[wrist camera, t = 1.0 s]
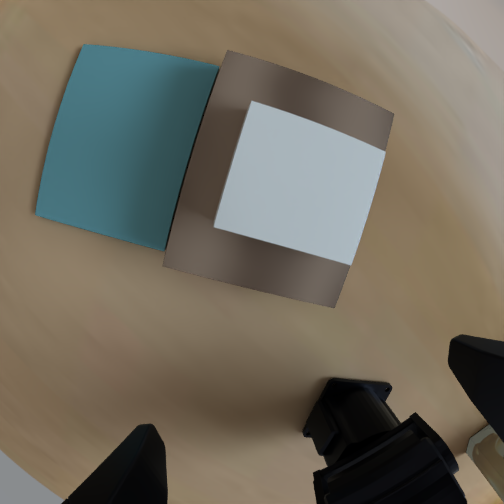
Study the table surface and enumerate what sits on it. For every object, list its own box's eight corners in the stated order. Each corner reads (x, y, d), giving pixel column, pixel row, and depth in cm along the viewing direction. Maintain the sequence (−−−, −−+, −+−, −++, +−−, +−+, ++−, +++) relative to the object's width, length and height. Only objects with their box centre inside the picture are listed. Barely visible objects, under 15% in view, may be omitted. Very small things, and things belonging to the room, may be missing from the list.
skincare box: (499, 414, 30) (546, 460, 18) (494, 431, 31) (536, 475, 19) (467, 439, 30) (512, 491, 18) (463, 454, 31) (504, 504, 19)
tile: (368, 153, 16) (385, 151, 14) (337, 255, 17) (351, 265, 16) (247, 109, 15) (251, 100, 13) (213, 221, 16) (213, 227, 14)
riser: (368, 121, 19) (394, 113, 16) (316, 288, 22) (334, 308, 18) (225, 70, 18) (227, 50, 14) (171, 251, 20) (162, 266, 16)
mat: (218, 68, 18) (219, 66, 17) (165, 249, 20) (163, 251, 19) (86, 46, 16) (83, 44, 15) (38, 214, 18) (35, 215, 18)
